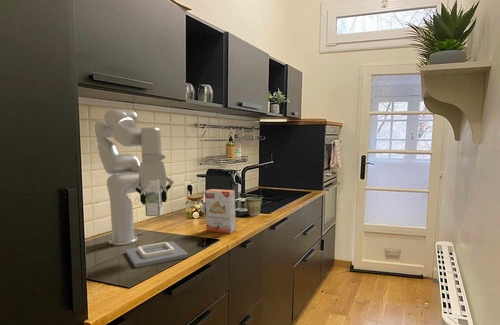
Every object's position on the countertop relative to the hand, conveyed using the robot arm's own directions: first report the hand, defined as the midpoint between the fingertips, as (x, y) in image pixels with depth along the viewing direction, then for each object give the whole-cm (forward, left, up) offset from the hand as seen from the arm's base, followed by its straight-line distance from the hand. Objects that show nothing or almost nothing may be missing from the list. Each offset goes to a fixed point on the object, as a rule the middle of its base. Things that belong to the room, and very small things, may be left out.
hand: (153, 202), depth 136 cm
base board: (0, 0, -21) cm, 21 cm away
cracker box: (-18, +37, -22) cm, 47 cm away
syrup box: (0, 0, -5) cm, 5 cm away
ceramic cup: (-43, +71, -22) cm, 86 cm away
